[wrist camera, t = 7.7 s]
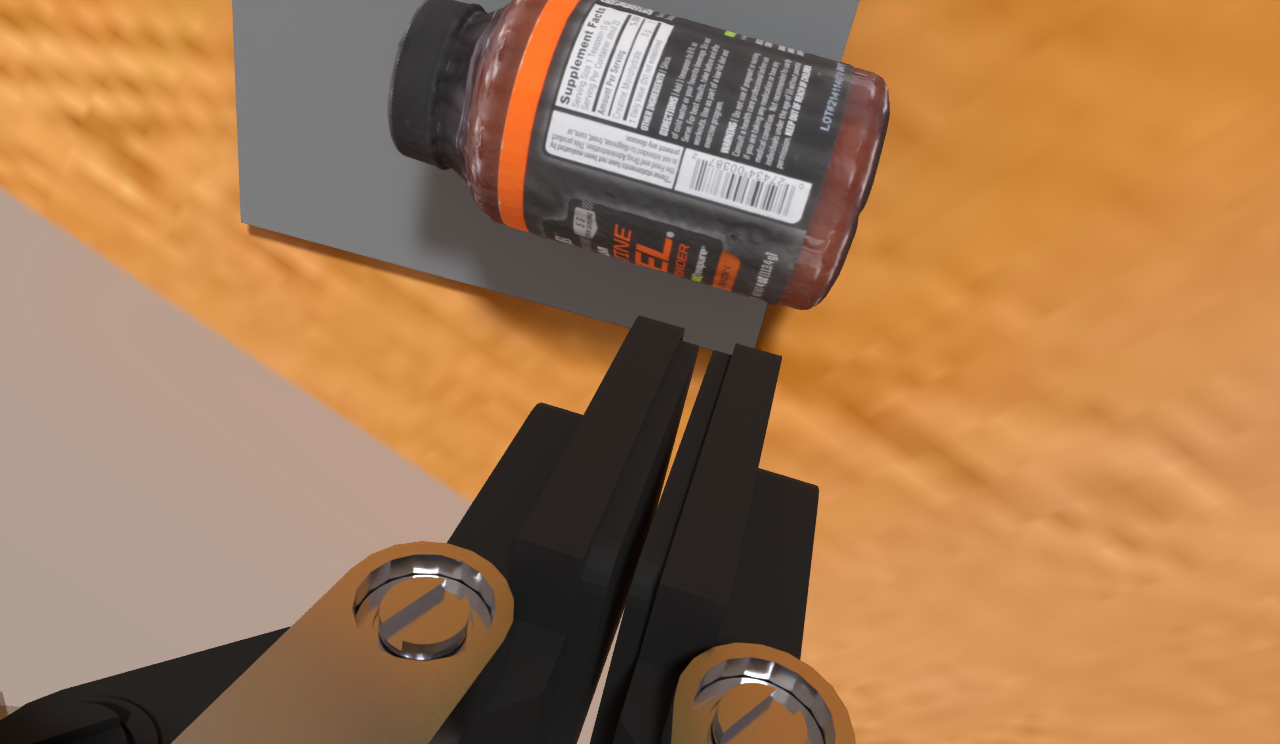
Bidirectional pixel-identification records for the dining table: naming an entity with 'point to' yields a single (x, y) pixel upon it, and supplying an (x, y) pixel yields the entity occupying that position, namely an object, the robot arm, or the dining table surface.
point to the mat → (440, 199)
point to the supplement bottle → (646, 137)
